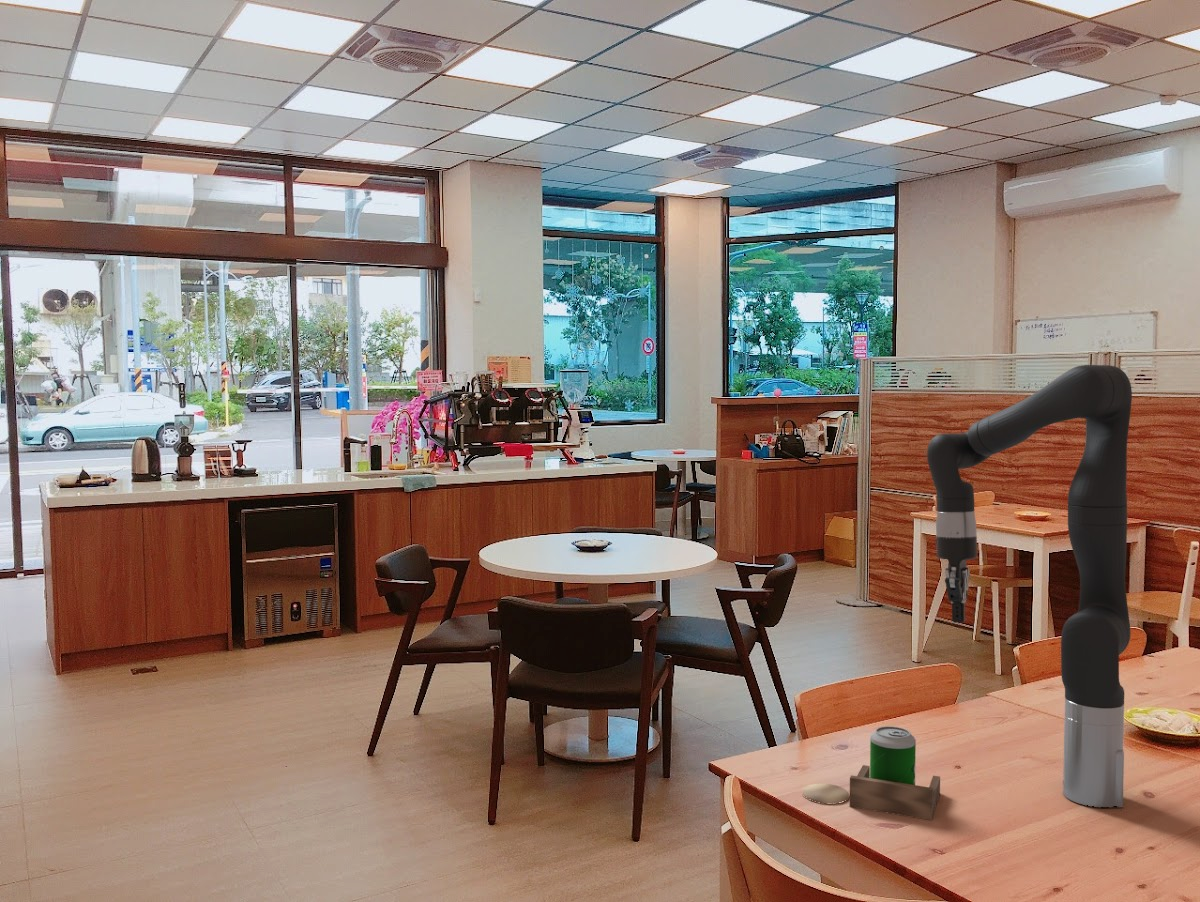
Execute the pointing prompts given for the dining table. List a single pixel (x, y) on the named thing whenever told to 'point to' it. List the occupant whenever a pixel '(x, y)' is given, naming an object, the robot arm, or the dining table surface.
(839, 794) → the beige domed disc
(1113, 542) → the robot arm
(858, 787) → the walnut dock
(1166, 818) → the dining table surface
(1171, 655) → the dining table surface
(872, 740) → the soda can
